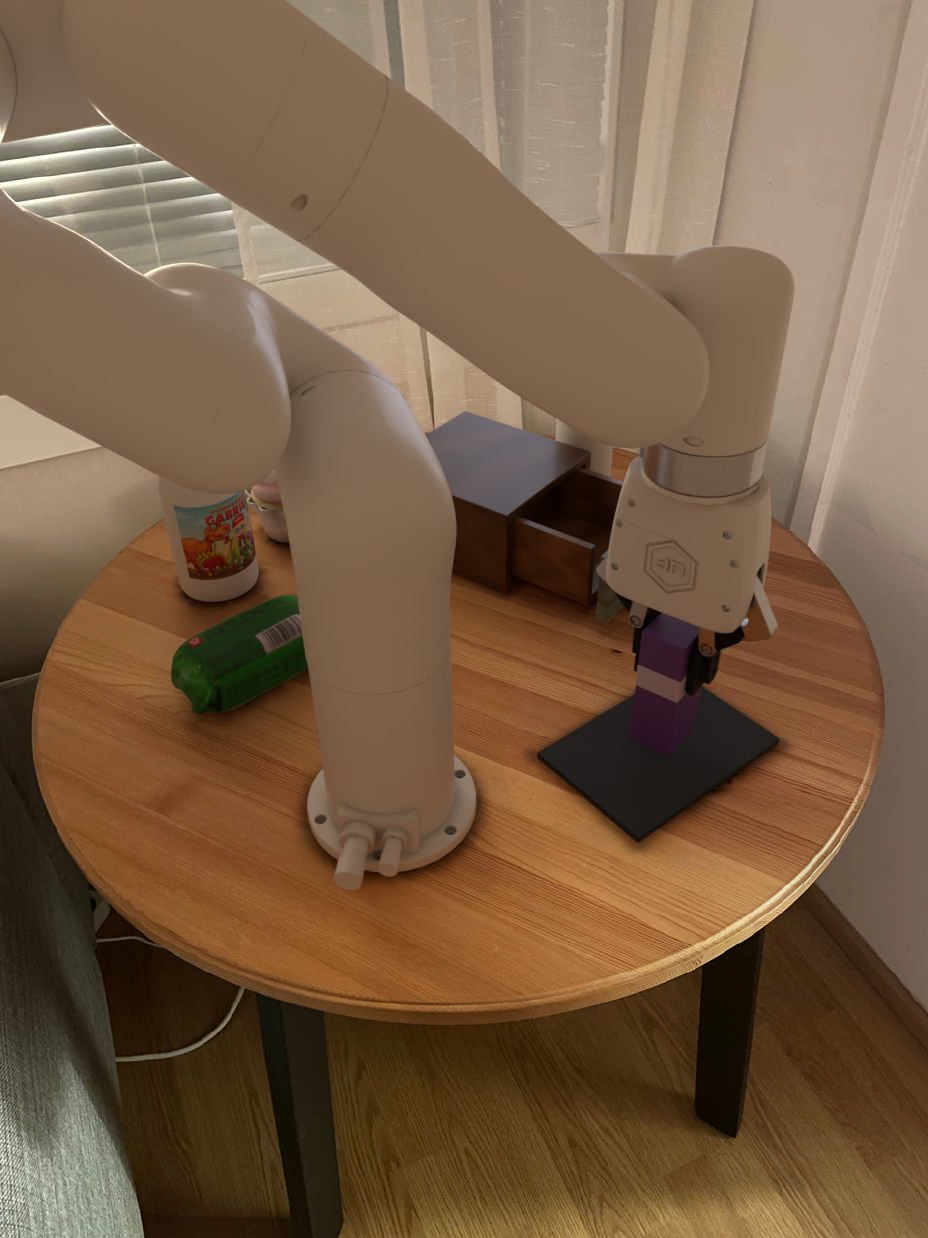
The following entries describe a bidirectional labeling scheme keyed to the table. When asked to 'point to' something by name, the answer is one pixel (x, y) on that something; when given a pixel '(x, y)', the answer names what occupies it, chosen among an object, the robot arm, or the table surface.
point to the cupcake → (269, 507)
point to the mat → (655, 763)
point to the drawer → (569, 539)
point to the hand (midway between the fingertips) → (672, 671)
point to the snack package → (241, 656)
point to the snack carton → (664, 685)
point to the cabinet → (496, 487)
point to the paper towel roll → (586, 447)
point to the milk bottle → (209, 541)
